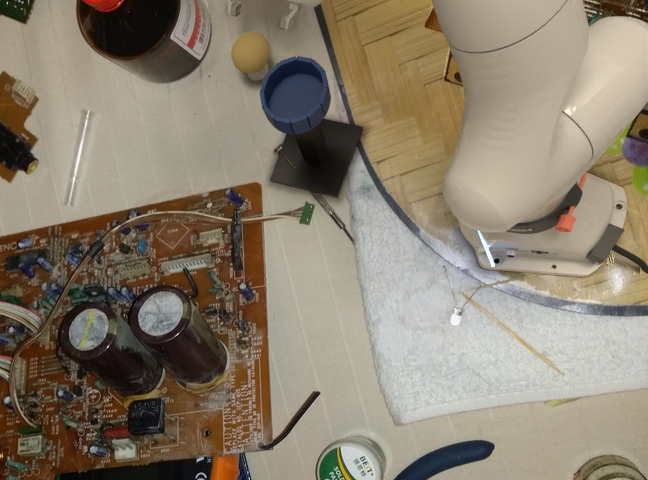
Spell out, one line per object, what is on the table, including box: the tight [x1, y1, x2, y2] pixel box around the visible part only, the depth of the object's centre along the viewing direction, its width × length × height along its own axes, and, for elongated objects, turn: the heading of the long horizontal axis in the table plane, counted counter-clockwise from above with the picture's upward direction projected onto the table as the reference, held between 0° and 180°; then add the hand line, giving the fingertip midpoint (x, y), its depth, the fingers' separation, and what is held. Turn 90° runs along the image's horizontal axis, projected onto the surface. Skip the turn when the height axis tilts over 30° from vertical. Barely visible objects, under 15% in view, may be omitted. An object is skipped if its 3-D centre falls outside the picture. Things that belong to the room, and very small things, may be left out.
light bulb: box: [230, 30, 271, 81], centre depth 119 cm, size 6×6×10 cm
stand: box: [269, 118, 364, 199], centre depth 109 cm, size 12×12×22 cm
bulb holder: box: [259, 55, 332, 135], centre depth 97 cm, size 9×9×4 cm
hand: (259, 22), depth 115 cm, fingers open, 8 cm apart
